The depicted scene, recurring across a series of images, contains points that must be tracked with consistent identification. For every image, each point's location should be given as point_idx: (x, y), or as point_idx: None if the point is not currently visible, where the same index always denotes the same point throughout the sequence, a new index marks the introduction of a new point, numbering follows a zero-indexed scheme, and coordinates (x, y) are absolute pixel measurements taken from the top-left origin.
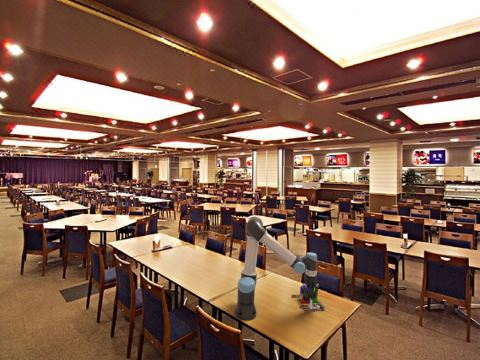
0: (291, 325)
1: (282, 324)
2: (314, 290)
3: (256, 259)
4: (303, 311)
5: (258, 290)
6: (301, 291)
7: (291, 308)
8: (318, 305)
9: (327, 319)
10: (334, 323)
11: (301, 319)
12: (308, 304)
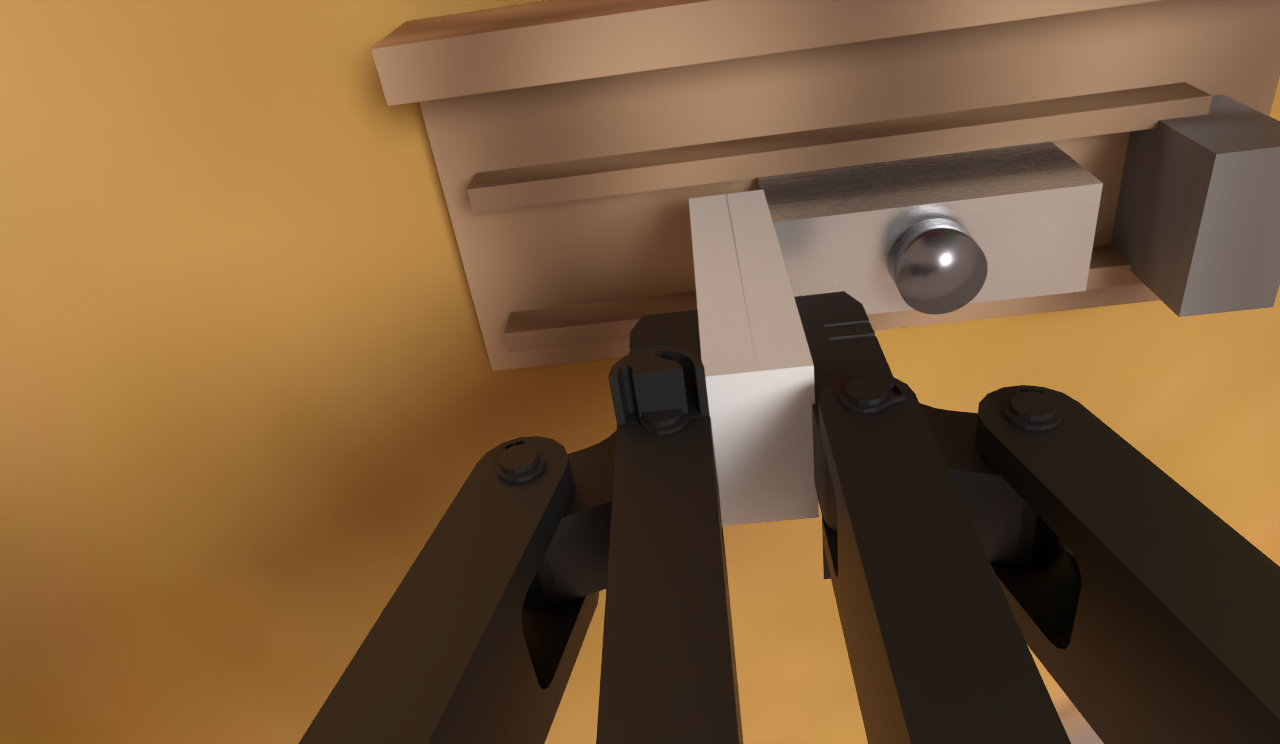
0: (181, 718)
1: (10, 696)
2: (1275, 719)
3: None
4: (490, 313)
5: None
6: None
7: (124, 72)
8: (1096, 203)
9: None
10: (1043, 679)
11: (390, 573)
12: (748, 51)
